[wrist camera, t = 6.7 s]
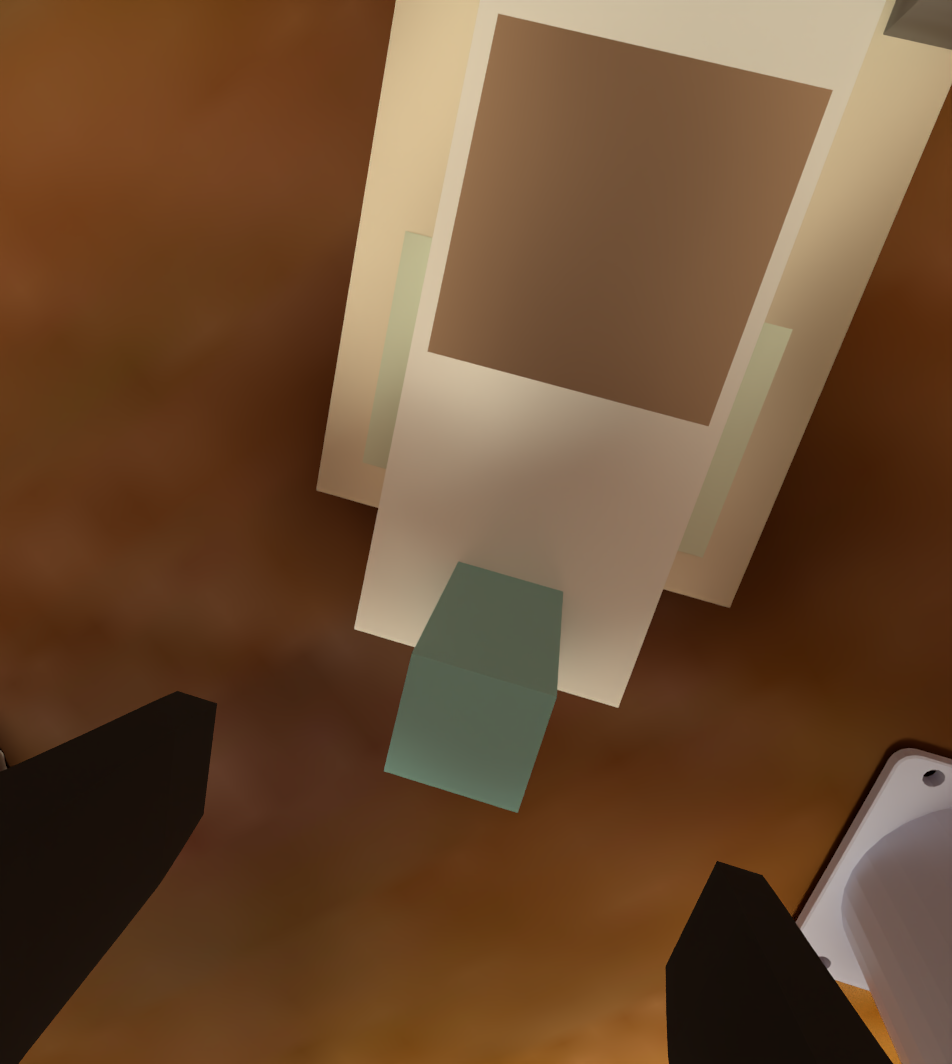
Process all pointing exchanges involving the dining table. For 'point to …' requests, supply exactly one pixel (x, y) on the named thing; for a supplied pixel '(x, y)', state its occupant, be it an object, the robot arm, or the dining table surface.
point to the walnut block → (618, 216)
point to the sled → (557, 450)
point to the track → (791, 323)
